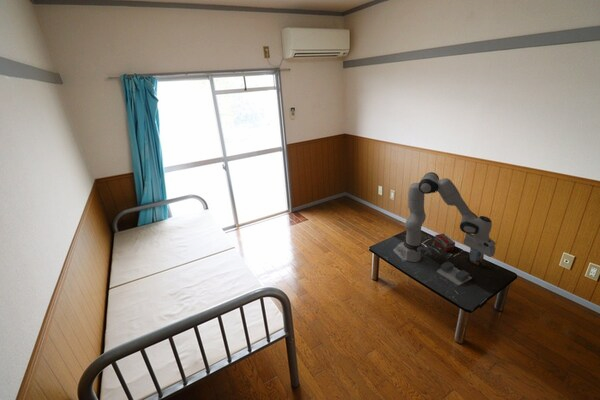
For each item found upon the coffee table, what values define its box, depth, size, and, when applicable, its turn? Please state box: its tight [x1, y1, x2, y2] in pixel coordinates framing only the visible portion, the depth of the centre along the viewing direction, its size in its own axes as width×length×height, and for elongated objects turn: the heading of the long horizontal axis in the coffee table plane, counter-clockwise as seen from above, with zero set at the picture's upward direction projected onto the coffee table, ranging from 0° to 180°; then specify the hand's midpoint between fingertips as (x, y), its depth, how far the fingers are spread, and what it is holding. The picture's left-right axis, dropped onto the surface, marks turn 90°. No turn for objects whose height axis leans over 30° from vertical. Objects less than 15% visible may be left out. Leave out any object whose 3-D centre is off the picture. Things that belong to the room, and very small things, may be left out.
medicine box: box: [433, 233, 456, 253], centre depth 237 cm, size 15×8×8 cm, turn 13°
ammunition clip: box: [466, 249, 485, 269], centre depth 213 cm, size 11×2×12 cm, turn 28°
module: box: [469, 249, 482, 261], centre depth 199 cm, size 4×8×7 cm, turn 118°
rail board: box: [436, 261, 473, 287], centre depth 205 cm, size 18×14×6 cm
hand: (476, 255), depth 199 cm, fingers closed on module, 4 cm apart
